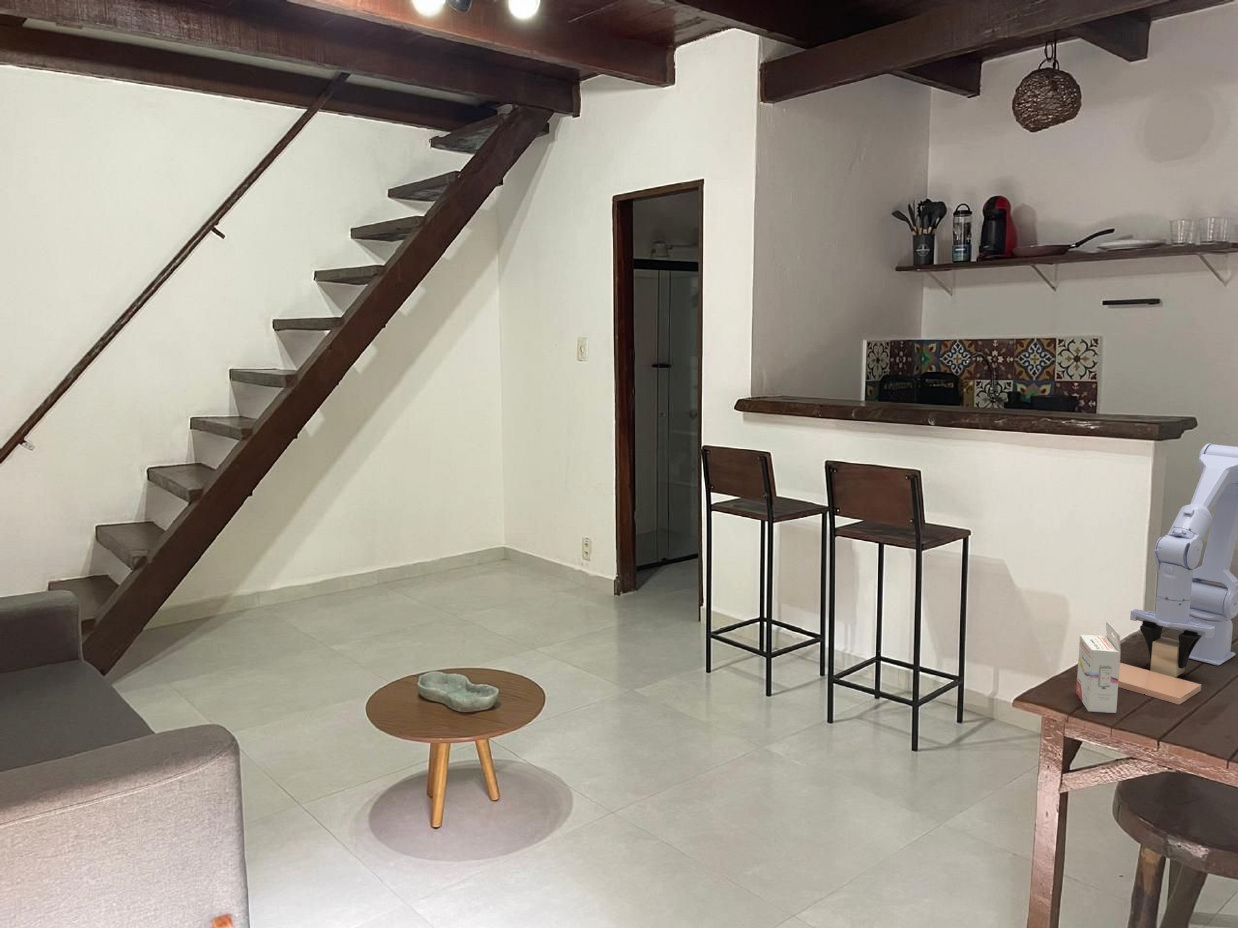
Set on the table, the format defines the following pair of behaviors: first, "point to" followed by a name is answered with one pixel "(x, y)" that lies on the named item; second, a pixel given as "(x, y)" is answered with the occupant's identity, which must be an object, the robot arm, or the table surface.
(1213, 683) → the table surface
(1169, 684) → the terracotta tile
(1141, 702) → the table surface
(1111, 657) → the ink cartridge box
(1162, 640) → the maple block
